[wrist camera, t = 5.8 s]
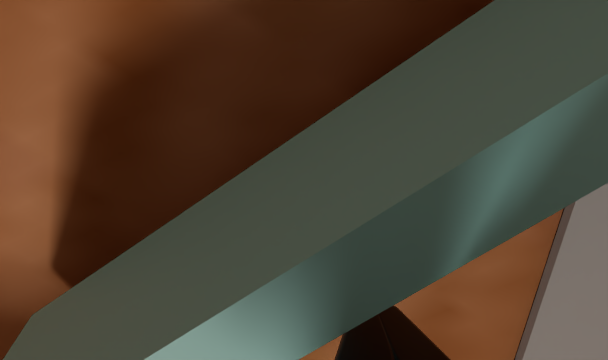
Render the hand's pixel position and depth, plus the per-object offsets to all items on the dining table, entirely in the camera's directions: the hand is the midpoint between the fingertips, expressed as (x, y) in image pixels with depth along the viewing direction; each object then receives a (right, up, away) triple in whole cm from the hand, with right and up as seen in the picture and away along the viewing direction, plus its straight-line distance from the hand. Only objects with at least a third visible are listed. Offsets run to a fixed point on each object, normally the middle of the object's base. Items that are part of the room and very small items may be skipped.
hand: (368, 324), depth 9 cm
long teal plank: (-1, +3, +1) cm, 3 cm away
